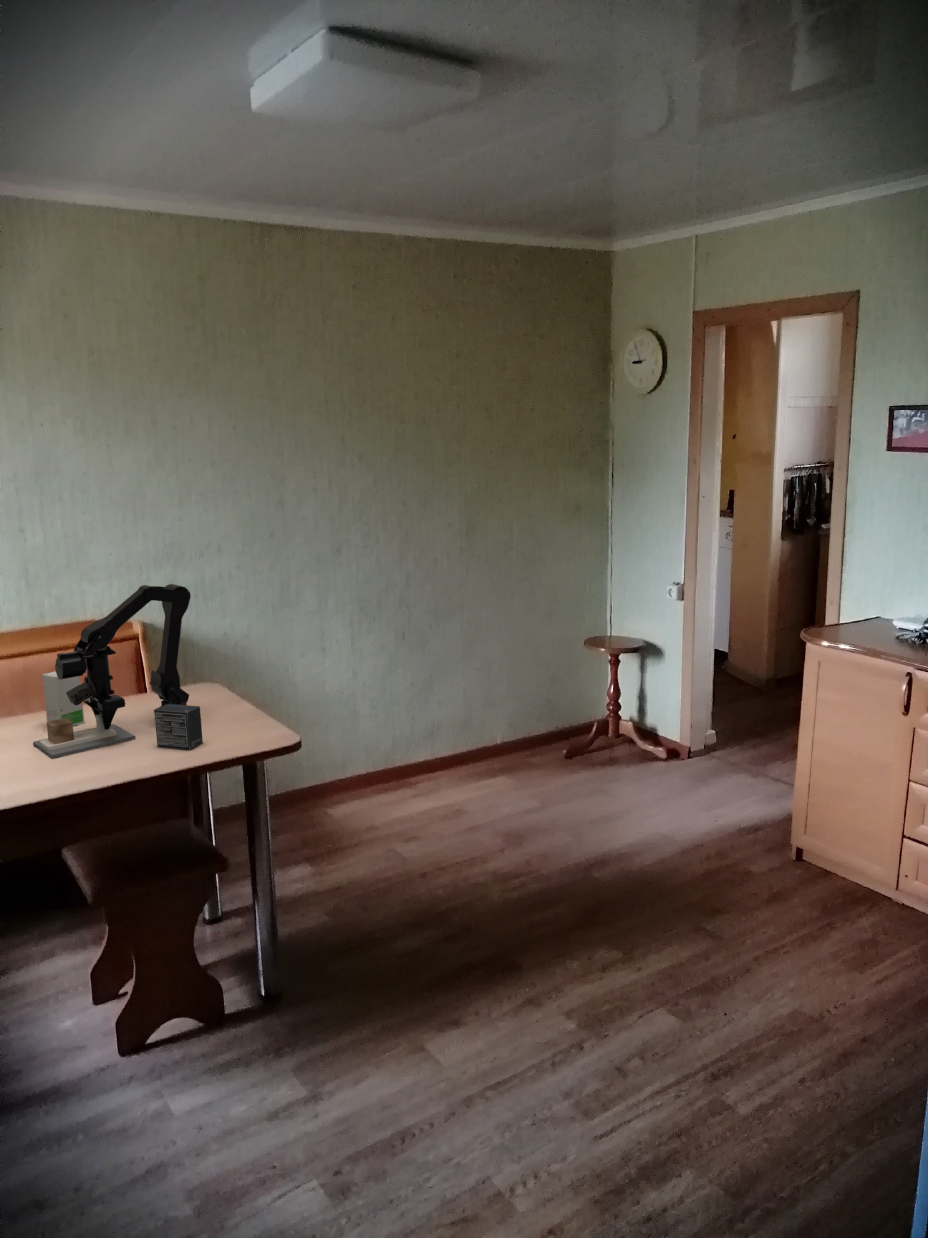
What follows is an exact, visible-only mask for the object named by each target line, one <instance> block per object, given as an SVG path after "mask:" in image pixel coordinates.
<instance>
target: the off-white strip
mask: <svg viewBox="0 0 928 1238" xmlns="http://www.w3.org/2000/svg"><path fill="white" fill-rule="evenodd" d="M95 723H96V727H94V728H95V729H92V728H90V729H91V730H88V729H85V730H86V731H83V730H81V731H82V732H79V731H76V732H77V733H74V732H73V733H74V740H72V741H68V742H64V743H59V744H53V743H52V742H50V741H49V740H48V739H47V738H45V739H46V740H43V739H41V740H42V741H39V742H40V745H41V746H43V747H44V748H45V749H47V750H48V751H50V750H55V749H59V748H63V747H68V746H72V745H76V744H81V743H85V742H89V741H94V740H98V739H102V738H107V737H111V736H115V735H117V732H116V731H114V730H113V729H111V725H110V728H109V729H107V730H105V729H104V725H103V722H102V718H101V714H97V715H96V718H95Z"/></svg>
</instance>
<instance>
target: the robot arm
mask: <svg viewBox="0 0 928 1238" xmlns="http://www.w3.org/2000/svg"><path fill="white" fill-rule="evenodd" d="M191 598H192V597H191V592H190V590H189V589H188V588H187V587H185V586H182V585H177V584H175V583H174V584H173V583H169V584H167V585H165V586H161V585H160V586H159V585H155V586H154V585H147V584H143V585H141V586H139V587H138V588H137V590H136V591H134V593H132V594H131V595H130V596H129V597H127V598H126V599H125V600H124V601H122V603H120V604H119V605H118V606H117V607H116V608H114V610H112V611H111V612H110V613H109V614H108V615H106V616H105V617H103V618H100V619H98V620H96V621H94V622H92V623H90V624H88V625H87V626H85V627H83V629H82V630H81V632H80V637H79V640H78V642H77V644H76V645H75V647H74V648H73V650H72V651H70V652H65V653H64V652H60V653H56V659H55V664H54V668H55V671H56V674H57V676H58V678H59V679H60V680H61V679H67V678H72V677H77V676H80V677H82V676H83V675H84V674H86V675H85V676H84V678H83V683H81V684H80V685H78V686H76V687H74V688H73V689H71V690H69V691H67V692H66V694H67V696H68V698H69V700H70V702H71V703H73V704H74V705H79V704H81V703H82V702H83V704H85V705H87V706H89V707H90V708H91V710H92V712H93V715H94V718H95V719H96V715H97V714H101V718H102V722H103V725H104V729H105V730H107V729H109V728H110V725H111V724H113V720H114V717H115V715H116V712H117V711H118V709H121V708H125V707H126V701H125V698H124V697H122V696H120V695H118V694H115V689H112V683H111V680H114V677H113V675H112V674H111V672H110V665H109V664H110V663H109V656H110V655H115V654H116V653H117V651H115V650H114V649H112V648H111V647H110V646H109V644H110V642H111V641H112V640H113V638H114V637H115V636H116V633H117V632H118V631H119V630H120V628H121V627H122V626H123V625H125V623H127V622H128V621H129V620H131V619H132V617H134V616H135V615H136V614H138V612H140V610H142V609H143V608H144V607H146V605H147V604H149V603H150V602H151V601H156V602H161V605H162V609H163V613H164V622H163V633H162V641H161V651H160V658H159V659H160V661H159V665H158V667H157V669H156V670H154V669H153V670H151V671H150V672H151V673H150V675H151V677H150V678H151V679H150V682H149V685H151V690H152V692H153V693H154V694H156V695H157V697H158V699H160V700H161V701H160V703H161V705H160V706H159V707H161V706H164V705H166V704H176V705H188V701H189V698H190V694H189V693H188V692H187V691H185V690H184V689H182V687H181V678H180V674H179V671H178V657H179V651H180V649H179V648H180V642H181V640H180V639H181V633H182V631H181V630H182V622H183V618H184V615H185V614H186V612H187V610H188V608H189V605H190V601H191Z"/></svg>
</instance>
